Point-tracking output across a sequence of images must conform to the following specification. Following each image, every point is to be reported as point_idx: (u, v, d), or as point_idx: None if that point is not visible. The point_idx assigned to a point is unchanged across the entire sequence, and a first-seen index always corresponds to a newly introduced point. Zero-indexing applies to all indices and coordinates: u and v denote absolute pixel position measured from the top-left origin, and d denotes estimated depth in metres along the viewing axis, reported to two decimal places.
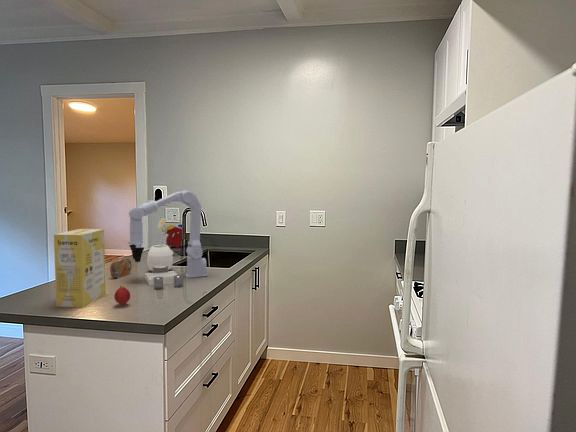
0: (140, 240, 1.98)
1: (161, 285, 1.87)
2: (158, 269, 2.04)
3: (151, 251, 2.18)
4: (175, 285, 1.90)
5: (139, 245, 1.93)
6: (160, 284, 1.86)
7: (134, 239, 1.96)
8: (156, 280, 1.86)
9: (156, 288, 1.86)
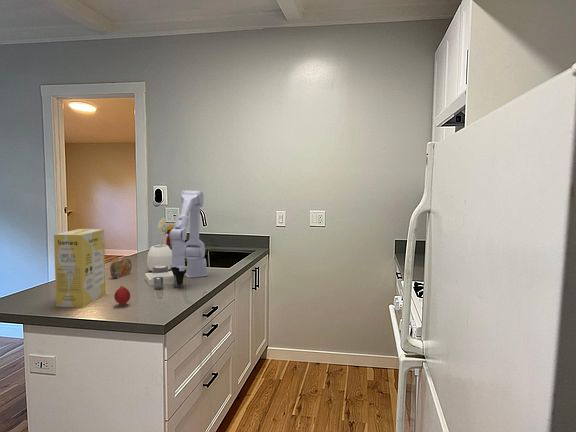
0: (182, 262, 1.90)
1: (161, 285, 1.87)
2: (158, 269, 2.04)
3: (151, 251, 2.18)
4: (175, 285, 1.90)
5: (182, 268, 1.85)
6: (160, 284, 1.86)
7: (176, 261, 1.88)
8: (156, 280, 1.86)
9: (156, 288, 1.86)
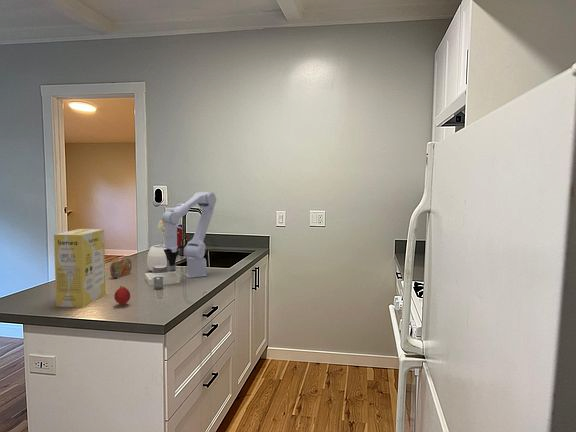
0: (175, 244, 1.97)
1: (161, 285, 1.87)
2: (158, 269, 2.04)
3: (151, 251, 2.18)
4: (168, 269, 1.98)
5: (175, 250, 1.93)
6: (160, 284, 1.86)
7: (169, 243, 1.96)
8: (156, 280, 1.86)
9: (156, 288, 1.86)
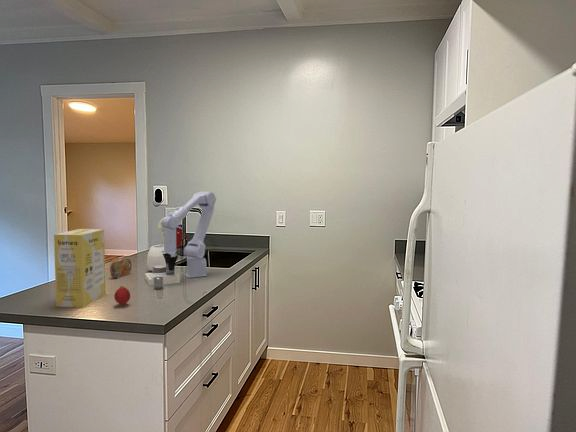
0: (174, 249, 1.98)
1: (161, 285, 1.87)
2: (158, 269, 2.04)
3: (151, 251, 2.18)
4: (167, 272, 1.99)
5: (174, 254, 1.94)
6: (160, 284, 1.86)
7: (168, 248, 1.97)
8: (156, 280, 1.86)
9: (156, 288, 1.86)
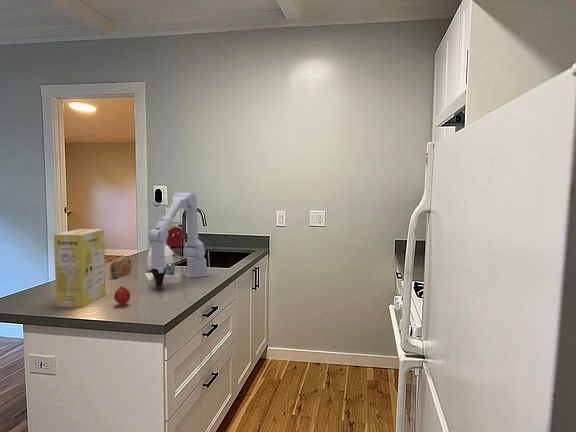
0: (162, 264, 1.86)
1: None
2: None
3: None
4: (167, 272, 1.99)
5: (162, 270, 1.81)
6: None
7: (156, 263, 1.84)
8: None
9: (156, 288, 1.86)
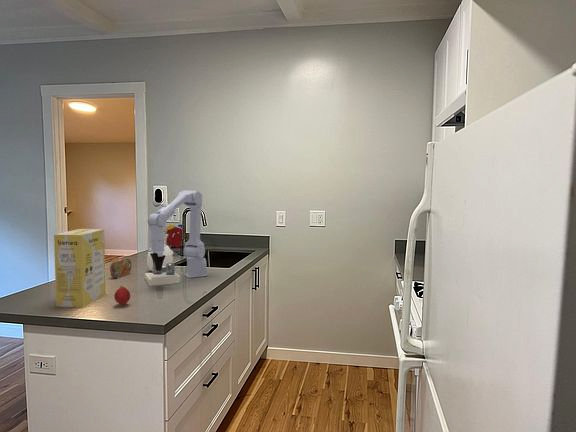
0: (162, 248, 1.87)
1: None
2: None
3: None
4: (167, 272, 1.99)
5: (161, 254, 1.82)
6: None
7: (155, 247, 1.85)
8: None
9: (155, 273, 1.87)
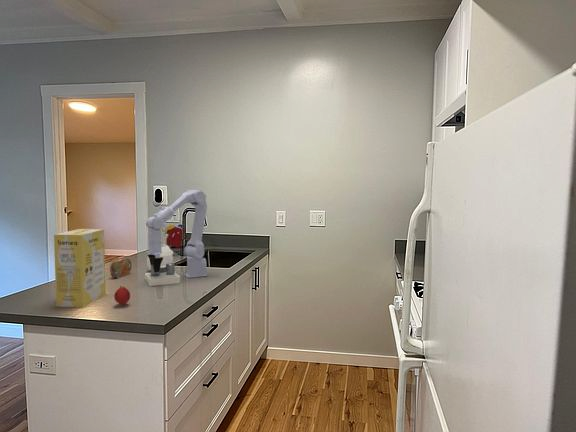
0: (159, 250, 1.95)
1: (158, 272, 1.97)
2: None
3: None
4: (167, 272, 1.99)
5: (158, 255, 1.91)
6: None
7: (153, 249, 1.94)
8: None
9: (153, 275, 1.96)
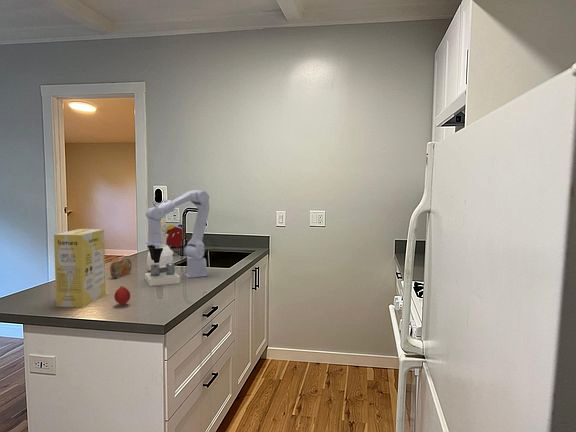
0: (159, 241, 1.95)
1: (158, 272, 1.97)
2: None
3: None
4: (167, 272, 1.99)
5: (158, 246, 1.90)
6: (157, 271, 1.96)
7: (153, 239, 1.93)
8: (153, 267, 1.95)
9: (153, 275, 1.96)
